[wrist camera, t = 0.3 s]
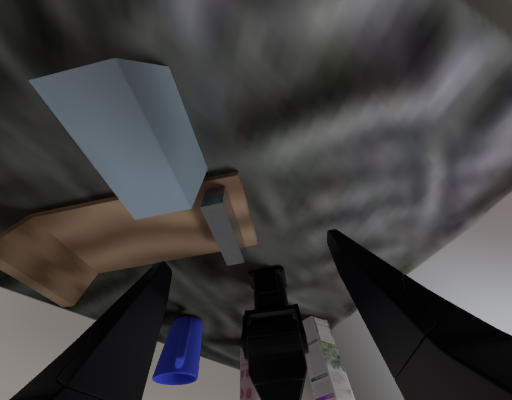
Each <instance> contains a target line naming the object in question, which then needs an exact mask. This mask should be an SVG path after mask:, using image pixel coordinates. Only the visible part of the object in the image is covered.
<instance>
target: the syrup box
mask: <svg viewBox="0 0 512 400" xmlns="http://www.w3.org/2000/svg"><path fill="white" fill-rule="evenodd" d="M302 322H303V325H304V329H305V333H306V338H307V343H308V348H309V354H305V357H306V362H307V369H308V373H309V378H310V383H311V387H312V392H313V396H314V400H355V398H354V395H353V392H352V389H351V386H350V384H349V381H348V378H347V375H346V372H345V369H344V367H343V364H342V361H341V358H340V355H339V353H338V350H337V347H336V344H335V341H334V338H333V335H332V332H331V330H330V327H329V324H328V321H327V320H325V319H322V318H318V317H315V316H310V317H308V318H306V319H304V320H303V321H302Z"/></svg>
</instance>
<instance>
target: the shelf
mask: <svg viewBox="0 0 512 400" xmlns="http://www.w3.org/2000/svg"><path fill="white" fill-rule="evenodd" d="M223 186H225V187H226V189H227V192H228V195H229V198H230V201H231V204H232V207H233V210H234V213H235V216H236V219H237V222H238V225H239V228H240V231H241V234H242V236H243V239H244V242H245V247H248V246H254V245H258V242H257V236H256V233H255V229H254V225H253V222H252V218H251V215H250V211H249V207H248V204H247V200H246V197H245V193H244V190H243V186H242V182H241V179H240V175H239V172H238V171H235V172H230V173H225V174H220V175H216V176H211V177H206V178H204V179H203V182H202V184H201V187H200V189H199V192H198V194H197V196H196V199H195V201H194V204H193V206H192V209H188V210H182V211H177V212H172V213H167V214H162V215H157V216H152V217H147V218H142V219H137V220H135V219H134V218H133V217H132V215H131V214H130V213H129V211H128V210H127V209H126V208H125V206H124V205H123V204H122V202H121V201H120V200H119V198H118V197H117V196H115V197H110V198H105V199H100V200H95V201H91V202H86V203H81V204H76V205H71V206H67V207H62V208H57V209H52V210H47V211H43V212H38V213H33V214H30V215H28V216H26V217H25V218H23V219H22V220H20V221H18V222H17V223H15V224H14V225H12V226H11V227H9V228H7V229H6V230H4V231H3V232H1V233H0V270H2V271H4V272H5V273H7V274H9V275H10V276H12V277H14V278H15V279H17V280H19V281H20V282H22V283H24V284H25V285H27V286H29V287H30V288H32V289H34V290H35V291H37V292H39V293H40V294H42V295H43V296H45V297H47V298H48V299H50V300H52V301H53V302H55V303H57V304H58V305H60V306H62V307H69V306H74V305H75V303H76V302H77V301H78V299H79V298H80V297H81V295H82V294H83V293H84V291H85V290H86V289H87V287H88V286H89V285H90V283H91V282H92V281H93V280H94V278H95V277H96V276H97V274H98V273H103V272H109V271H114V270H120V269H126V268H131V267H137V266H142V265H148V264H153V263H157V262H161V261H170V260H176V259H181V258H187V257H193V256H198V255H204V254H209V253H215V252H220V249H219V247H218V245H217V243H216V241H215V238H214V236H213V234H212V232H211V230H210V228H209V226H208V224H207V221H206V219H205V217H204V215H203V213H202V211H201V209H200V206H201V203H202V200H203V197H204V194H205V191H206V190H208V189H213V188H218V187H223Z"/></svg>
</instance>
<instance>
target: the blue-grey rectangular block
mask: <svg viewBox="0 0 512 400" xmlns="http://www.w3.org/2000/svg"><path fill="white" fill-rule="evenodd" d="M28 81H29V82H30V83H31V84H32V86H33V87H34V88H35V90H36V91H37V92H38V94H39V95H40V96H41V98H42V99H43V100H44V101H45V103H46V104H47V105H48V107H49V108H50V109H51V111H52V112H53V113H54V115H55V116H56V117H57V119H58V120H59V121H60V122H61V124H62V125H63V126H64V128H65V129H66V130H67V132H68V133H69V134H70V136H71V137H72V138H73V139H74V141H75V142H76V143H77V145H78V146H79V147H80V149H81V150H82V151H83V153H84V154H85V155H86V156H87V158H88V159H89V160H90V162H91V163H92V164H93V166H94V167H95V168H96V170H97V171H98V172H99V173H100V175H101V176H102V177H103V179H104V180H105V181H106V183H107V184H108V185H109V187H110V188H111V189H112V191H113V192H114V193H115V194H116V196H117V197H118V198H119V200H120V201H121V202H122V204H123V205H124V206H125V208H126V209H127V210H128V211H129V213H130V214H131V215H132V217H133V218H134V219H135V220H137V219H142V218H147V217H152V216H157V215H162V214H167V213H172V212H177V211H182V210H188V209H192V206H193V204H194V201H195V199H196V196H197V194H198V192H199V189H200V187H201V184H202V182H203V179H204V177H205V174H206V172H207V166H206V163H205V161H204V158H203V155H202V153H201V150H200V148H199V145H198V142H197V140H196V137H195V134H194V132H193V129H192V127H191V124H190V121H189V119H188V116H187V114H186V111H185V108H184V106H183V103H182V100H181V98H180V95H179V93H178V90H177V87H176V85H175V82H174V79H173V77H172V74H171V72H170V69H169V67H168V66H162V65H156V64H150V63H144V62H138V61H132V60H126V59H120V58H112V59H108V60H105V61H101V62H97V63H93V64H89V65H85V66H82V67H78V68H74V69H70V70H66V71H63V72H59V73H55V74H51V75H47V76H43V77H40V78H36V79H32V80H28Z"/></svg>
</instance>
